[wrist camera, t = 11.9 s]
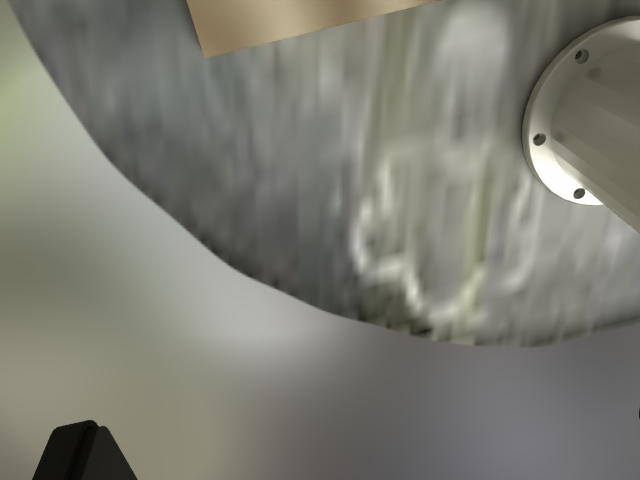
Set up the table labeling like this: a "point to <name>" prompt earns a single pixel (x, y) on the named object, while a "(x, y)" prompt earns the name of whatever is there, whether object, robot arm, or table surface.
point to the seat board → (277, 19)
